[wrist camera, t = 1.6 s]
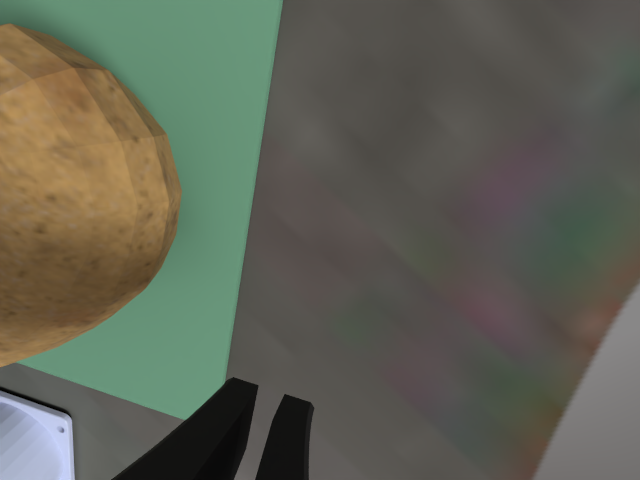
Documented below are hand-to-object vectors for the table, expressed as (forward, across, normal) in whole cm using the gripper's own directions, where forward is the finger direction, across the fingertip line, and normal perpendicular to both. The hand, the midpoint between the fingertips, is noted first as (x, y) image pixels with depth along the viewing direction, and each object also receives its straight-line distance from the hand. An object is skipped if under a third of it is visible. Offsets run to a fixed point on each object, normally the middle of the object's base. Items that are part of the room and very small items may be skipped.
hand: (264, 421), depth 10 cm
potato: (+9, +11, 0) cm, 14 cm away
